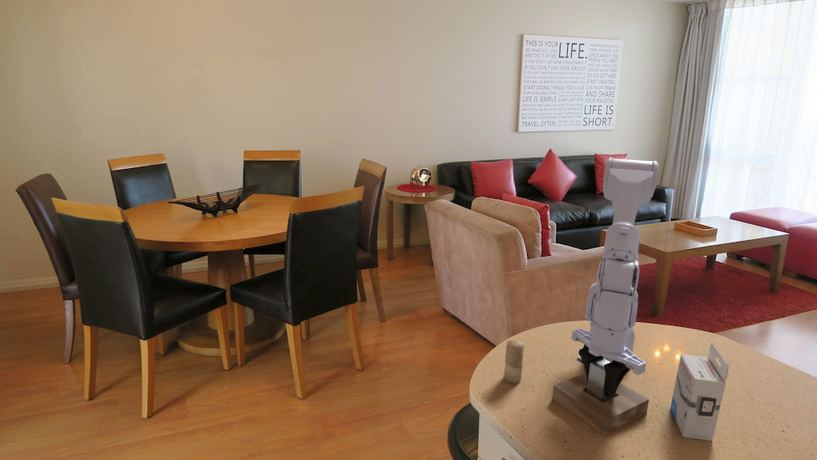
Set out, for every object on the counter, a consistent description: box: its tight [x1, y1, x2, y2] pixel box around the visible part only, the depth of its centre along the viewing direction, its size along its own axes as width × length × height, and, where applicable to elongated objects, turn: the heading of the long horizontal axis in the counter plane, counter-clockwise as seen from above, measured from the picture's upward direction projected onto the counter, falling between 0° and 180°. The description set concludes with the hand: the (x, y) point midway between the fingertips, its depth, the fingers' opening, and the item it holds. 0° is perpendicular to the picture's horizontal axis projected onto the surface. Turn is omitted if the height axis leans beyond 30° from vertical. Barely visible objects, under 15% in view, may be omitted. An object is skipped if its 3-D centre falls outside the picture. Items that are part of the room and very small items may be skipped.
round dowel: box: [503, 339, 525, 385], centre depth 105 cm, size 3×3×8 cm
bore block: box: [551, 372, 650, 436], centre depth 97 cm, size 12×12×3 cm
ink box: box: [670, 342, 730, 442], centre depth 91 cm, size 9×5×15 cm, turn 168°
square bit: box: [587, 358, 614, 403], centre depth 96 cm, size 3×3×8 cm
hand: (600, 389), depth 97 cm, fingers closed on square bit, 3 cm apart
